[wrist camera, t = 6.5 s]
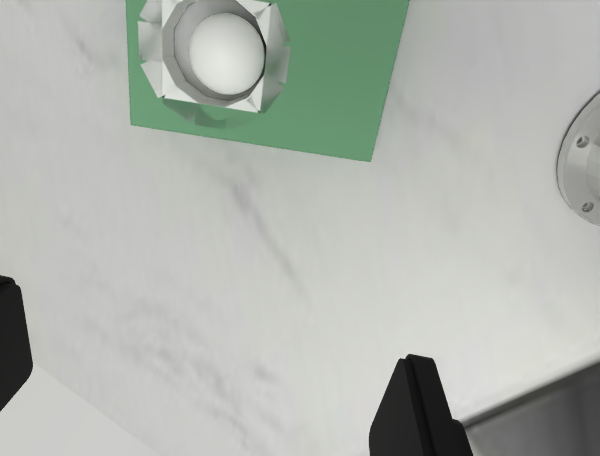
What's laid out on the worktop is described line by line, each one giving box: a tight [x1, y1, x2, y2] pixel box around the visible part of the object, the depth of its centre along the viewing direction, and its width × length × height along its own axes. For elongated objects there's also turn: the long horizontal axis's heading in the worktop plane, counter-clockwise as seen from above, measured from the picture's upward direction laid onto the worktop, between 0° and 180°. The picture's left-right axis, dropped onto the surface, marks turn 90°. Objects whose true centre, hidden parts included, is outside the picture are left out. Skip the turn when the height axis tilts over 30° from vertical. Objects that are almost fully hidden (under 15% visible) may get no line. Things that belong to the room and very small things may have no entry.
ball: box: [189, 13, 265, 94], centre depth 26 cm, size 5×5×5 cm
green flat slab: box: [126, 0, 410, 162], centre depth 27 cm, size 17×11×2 cm, turn 81°
